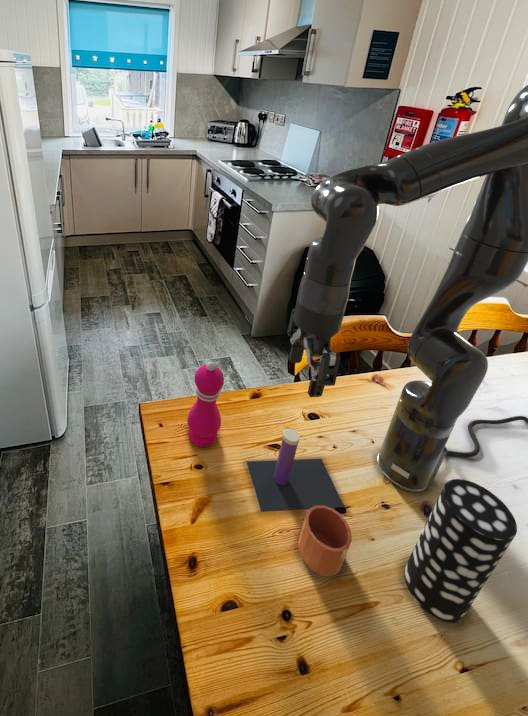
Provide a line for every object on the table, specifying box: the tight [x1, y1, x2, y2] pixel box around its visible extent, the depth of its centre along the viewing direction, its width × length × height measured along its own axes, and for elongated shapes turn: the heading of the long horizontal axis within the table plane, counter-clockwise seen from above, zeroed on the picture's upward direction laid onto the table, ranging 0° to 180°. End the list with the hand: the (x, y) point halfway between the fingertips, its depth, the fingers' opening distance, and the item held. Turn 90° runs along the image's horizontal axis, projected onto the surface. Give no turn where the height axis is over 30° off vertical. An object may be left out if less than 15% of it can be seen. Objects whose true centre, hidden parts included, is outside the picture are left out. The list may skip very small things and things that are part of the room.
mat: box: [246, 458, 345, 512], centre depth 77 cm, size 16×10×1 cm, turn 95°
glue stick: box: [274, 427, 301, 486], centre depth 75 cm, size 3×3×12 cm
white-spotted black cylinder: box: [403, 478, 518, 624], centre depth 58 cm, size 8×8×20 cm
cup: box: [297, 505, 353, 577], centre depth 65 cm, size 7×7×7 cm
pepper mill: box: [186, 361, 225, 448], centre depth 83 cm, size 7×7×20 cm
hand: (303, 377), depth 71 cm, fingers open, 8 cm apart
